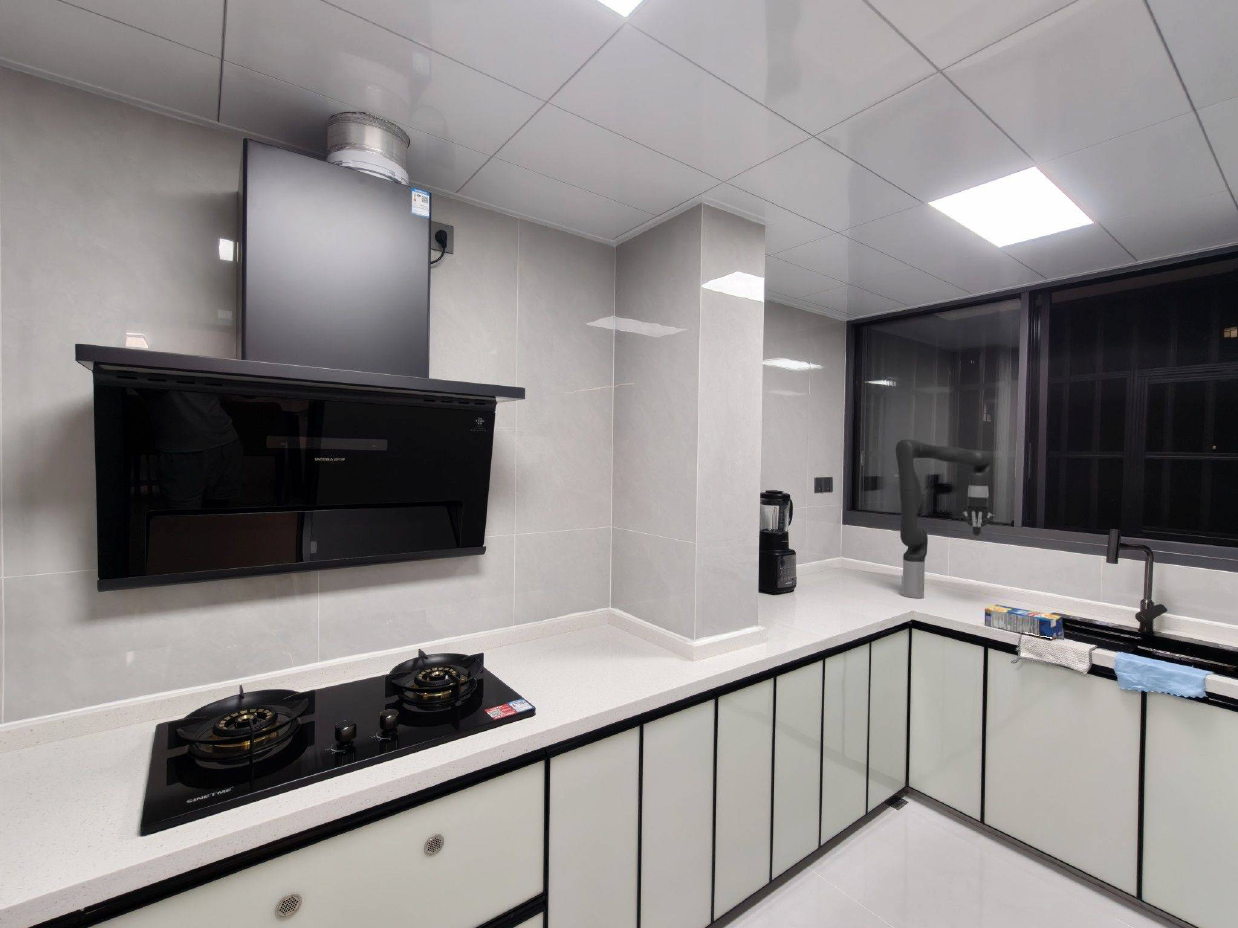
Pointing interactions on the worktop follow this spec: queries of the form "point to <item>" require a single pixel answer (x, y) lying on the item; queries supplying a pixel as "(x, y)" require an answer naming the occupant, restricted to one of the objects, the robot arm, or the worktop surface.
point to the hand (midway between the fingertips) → (976, 535)
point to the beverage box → (1023, 621)
